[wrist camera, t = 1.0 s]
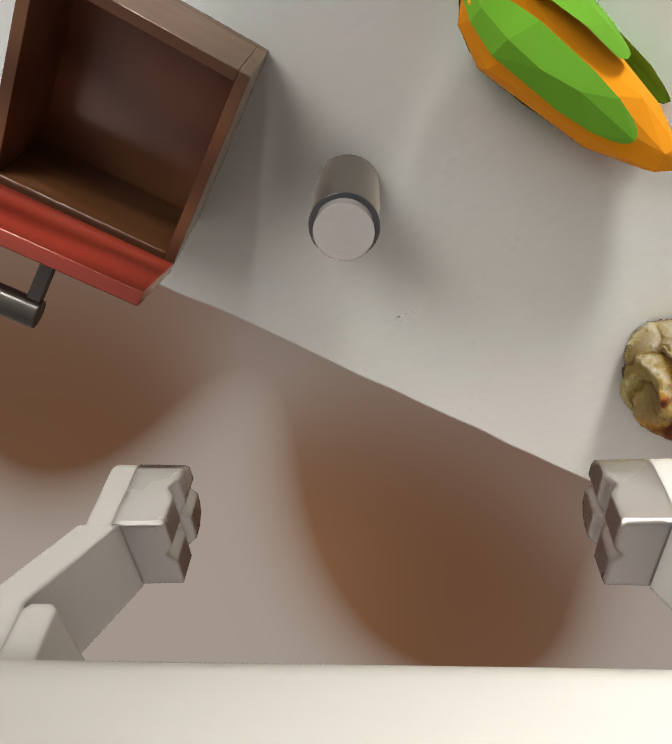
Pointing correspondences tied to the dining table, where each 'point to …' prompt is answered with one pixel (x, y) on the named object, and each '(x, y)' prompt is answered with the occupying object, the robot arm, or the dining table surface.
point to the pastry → (650, 377)
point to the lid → (69, 257)
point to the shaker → (346, 208)
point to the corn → (573, 74)
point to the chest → (122, 112)
